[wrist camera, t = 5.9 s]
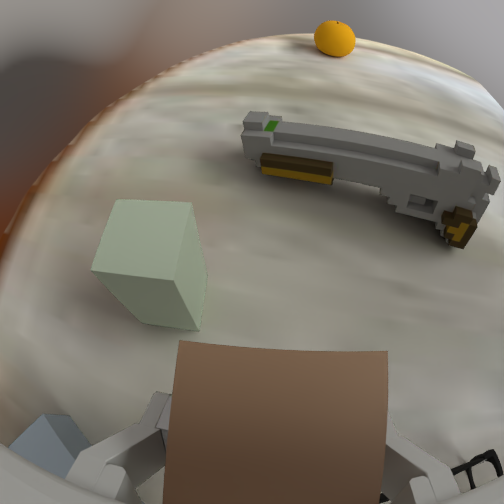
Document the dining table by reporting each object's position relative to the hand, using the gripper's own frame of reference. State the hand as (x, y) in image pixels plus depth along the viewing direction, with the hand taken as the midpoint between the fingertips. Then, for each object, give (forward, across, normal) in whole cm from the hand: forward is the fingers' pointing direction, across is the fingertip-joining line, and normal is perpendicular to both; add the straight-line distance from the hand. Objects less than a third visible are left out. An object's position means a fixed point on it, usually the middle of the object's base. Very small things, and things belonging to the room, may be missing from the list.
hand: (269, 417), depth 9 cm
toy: (+22, -9, -5) cm, 25 cm away
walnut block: (+3, 0, +4) cm, 5 cm away
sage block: (+13, +7, +2) cm, 15 cm away
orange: (+50, -10, -32) cm, 60 cm away
